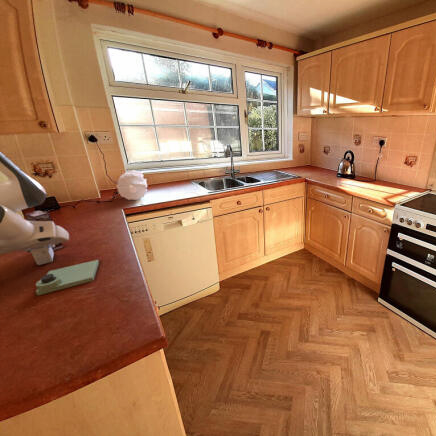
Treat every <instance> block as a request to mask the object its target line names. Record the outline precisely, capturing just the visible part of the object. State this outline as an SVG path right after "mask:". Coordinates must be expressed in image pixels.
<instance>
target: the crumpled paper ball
mask: <svg viewBox="0 0 436 436" xmlns="http://www.w3.org/2000/svg"><path fill="white" fill-rule="evenodd" d="M144 177H145V176H144V174H143V173H142V172H141V171H137V170H135V169H132V170H126V171H125V172H123V173H122V174H121V175H120V176H119V177H118V180H117V183H116V186H115V188H117V192H118V194H119V195H120V197H121V198H124V199H126V200H128V201H131V200H133V201H134V200H135V201H137V200H139V199H141V198H144V197H145V194H146V193H147V192H148V189H147V188H148V183H147V178H144Z"/></svg>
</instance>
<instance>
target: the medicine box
mask: <svg viewBox="0 0 436 436" xmlns="http://www.w3.org/2000/svg"><path fill="white" fill-rule="evenodd" d="M30 251H31V252H30V253H31V255H32V257H33V260H34V261H35V263H36V265H37V266H41V265H45V264H49V263H52V262H53V261H54V255H55V252H54V251H53V250H52V248H49V247H48V245H47V246H42V247H37V248H32V249H30Z"/></svg>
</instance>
